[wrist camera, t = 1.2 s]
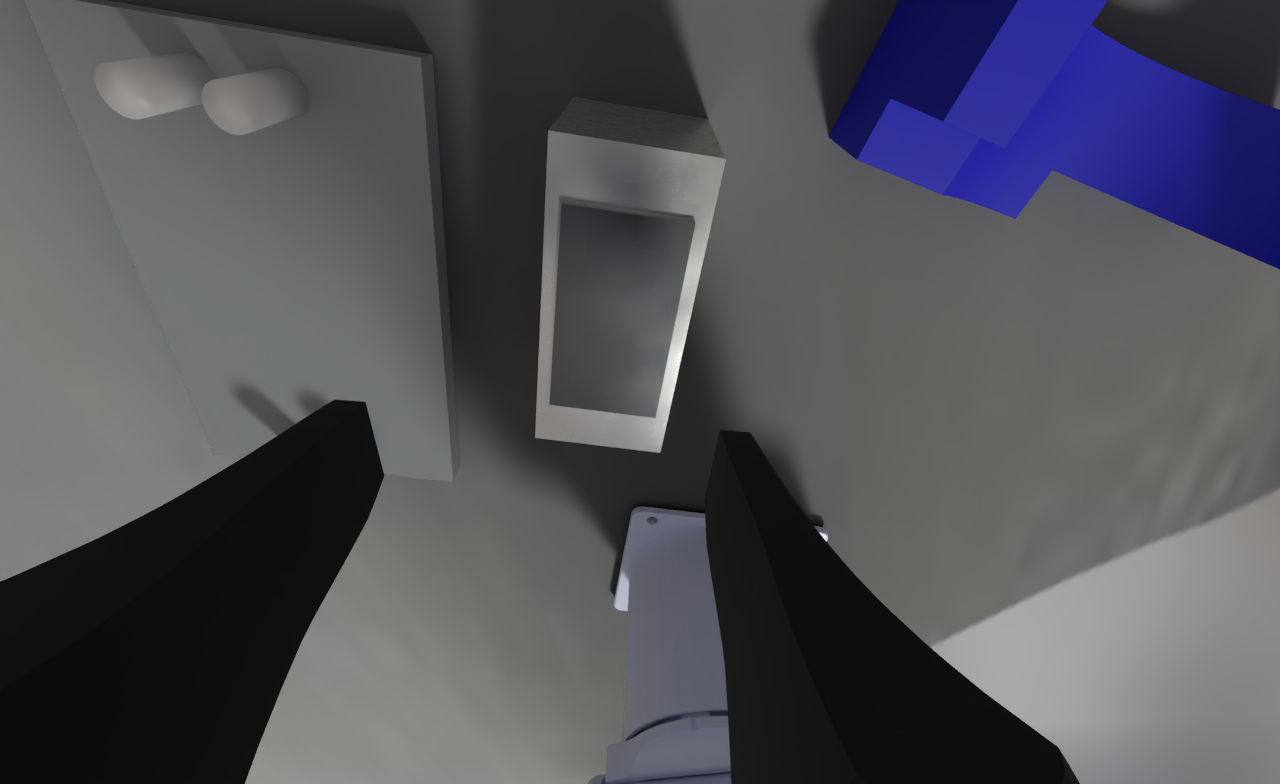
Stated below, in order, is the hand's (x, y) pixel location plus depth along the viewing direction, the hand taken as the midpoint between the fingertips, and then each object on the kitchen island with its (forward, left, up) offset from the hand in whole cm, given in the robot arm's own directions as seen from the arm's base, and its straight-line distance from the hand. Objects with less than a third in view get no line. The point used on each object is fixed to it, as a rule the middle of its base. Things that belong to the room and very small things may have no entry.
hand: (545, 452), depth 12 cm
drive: (-1, -1, -10) cm, 10 cm away
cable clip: (-13, -6, -10) cm, 18 cm away
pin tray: (+10, +2, -10) cm, 14 cm away
